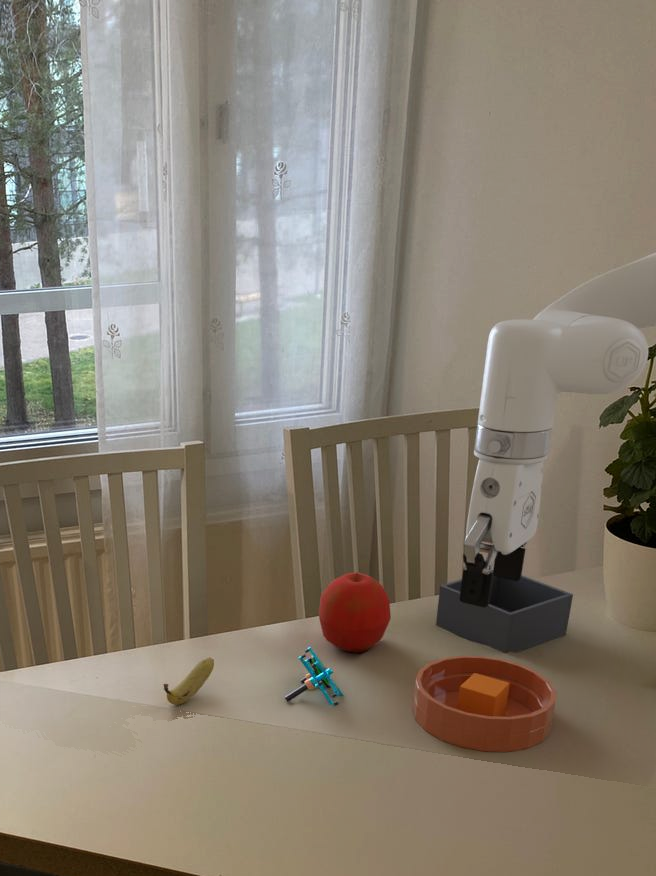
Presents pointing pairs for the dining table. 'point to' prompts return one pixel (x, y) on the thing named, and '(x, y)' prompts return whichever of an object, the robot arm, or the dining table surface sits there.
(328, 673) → the teal plastic assembly
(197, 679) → the banana
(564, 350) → the robot arm
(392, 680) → the dining table surface
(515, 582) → the bin
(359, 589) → the apple
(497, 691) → the block
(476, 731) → the bowl
